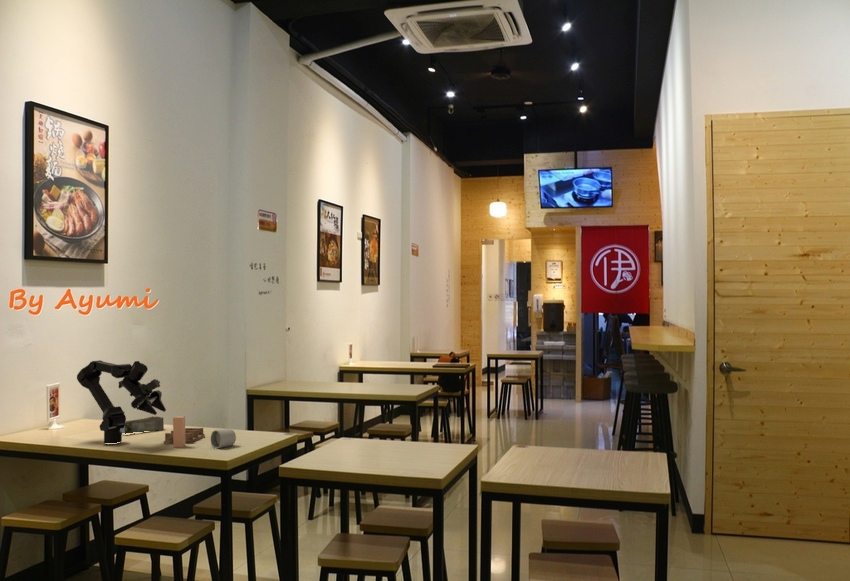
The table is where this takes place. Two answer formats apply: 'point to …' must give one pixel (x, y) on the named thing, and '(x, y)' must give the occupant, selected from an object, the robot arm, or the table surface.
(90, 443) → the table surface
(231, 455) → the table surface
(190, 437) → the slotted wooden tray
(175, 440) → the clay slab
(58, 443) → the table surface
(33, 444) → the table surface
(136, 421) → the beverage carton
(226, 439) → the grey cup
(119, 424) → the robot arm
